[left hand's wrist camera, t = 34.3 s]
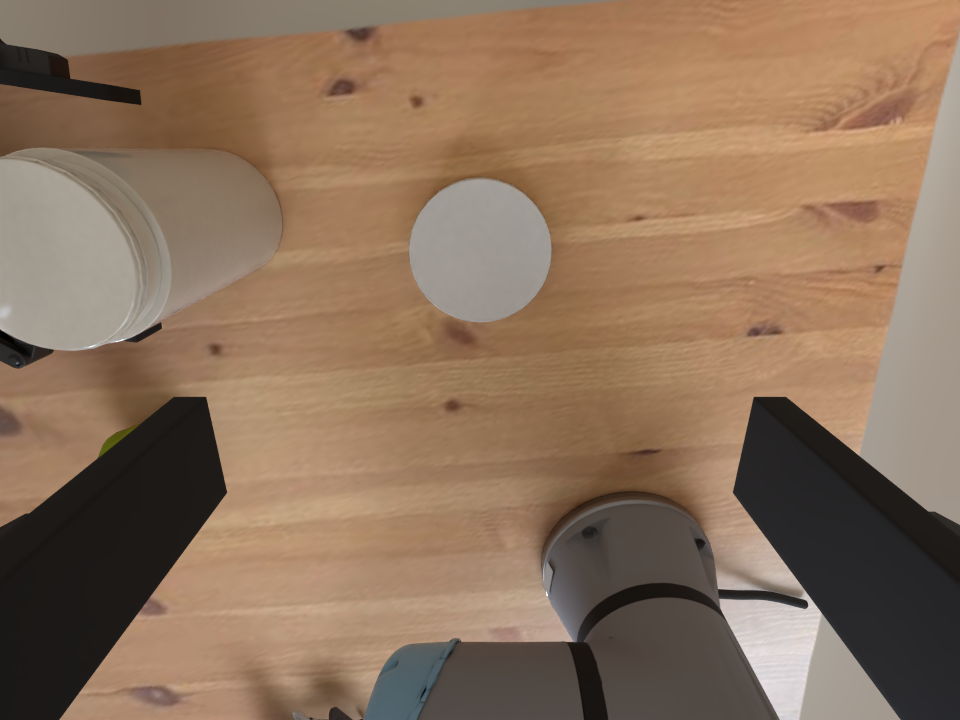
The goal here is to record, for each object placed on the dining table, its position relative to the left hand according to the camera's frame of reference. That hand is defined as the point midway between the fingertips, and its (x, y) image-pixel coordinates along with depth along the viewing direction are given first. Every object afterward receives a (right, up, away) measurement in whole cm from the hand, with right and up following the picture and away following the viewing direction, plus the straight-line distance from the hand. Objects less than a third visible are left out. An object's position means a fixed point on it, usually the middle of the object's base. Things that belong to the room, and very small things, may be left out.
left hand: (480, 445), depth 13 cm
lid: (0, +9, +23) cm, 25 cm away
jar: (-18, +12, +24) cm, 33 cm away
